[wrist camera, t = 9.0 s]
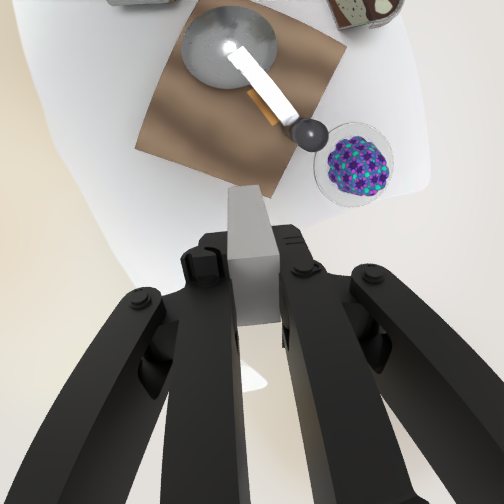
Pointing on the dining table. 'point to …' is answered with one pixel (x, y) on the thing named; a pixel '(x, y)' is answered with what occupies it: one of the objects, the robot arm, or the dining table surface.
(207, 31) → the steel serving spoon
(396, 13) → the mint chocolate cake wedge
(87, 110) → the dining table surface
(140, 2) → the ceramic mug
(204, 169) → the wooden cutting board
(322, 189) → the pudding
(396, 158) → the dining table surface
